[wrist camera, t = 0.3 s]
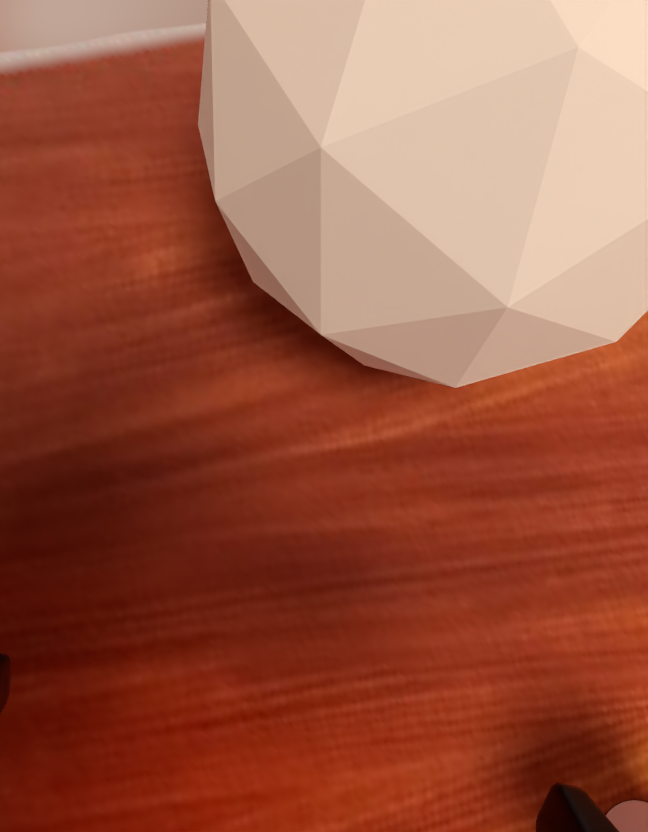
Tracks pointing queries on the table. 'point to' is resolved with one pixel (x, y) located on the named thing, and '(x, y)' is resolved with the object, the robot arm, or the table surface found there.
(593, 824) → the robot arm
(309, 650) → the table surface
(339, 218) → the ball
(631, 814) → the smoothie
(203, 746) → the table surface
